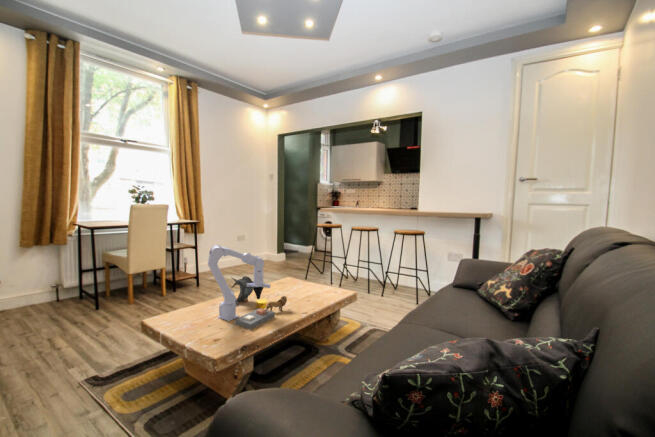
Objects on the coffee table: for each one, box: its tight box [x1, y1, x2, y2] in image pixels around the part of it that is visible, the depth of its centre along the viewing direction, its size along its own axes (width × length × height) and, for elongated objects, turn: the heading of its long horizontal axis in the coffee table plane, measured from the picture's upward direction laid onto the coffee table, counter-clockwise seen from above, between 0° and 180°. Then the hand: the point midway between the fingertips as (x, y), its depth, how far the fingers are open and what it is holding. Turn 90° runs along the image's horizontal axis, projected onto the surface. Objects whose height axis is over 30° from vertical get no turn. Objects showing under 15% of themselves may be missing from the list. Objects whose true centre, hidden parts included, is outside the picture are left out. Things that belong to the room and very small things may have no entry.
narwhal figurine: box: [231, 275, 254, 307], centre depth 205 cm, size 14×15×18 cm
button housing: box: [234, 308, 275, 330], centre depth 177 cm, size 12×20×3 cm, turn 150°
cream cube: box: [244, 315, 254, 321], centre depth 172 cm, size 4×4×4 cm
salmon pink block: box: [255, 308, 266, 315], centre depth 181 cm, size 4×4×4 cm
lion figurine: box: [266, 295, 288, 313], centre depth 191 cm, size 15×5×9 cm, turn 121°
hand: (258, 298), depth 187 cm, fingers closed
